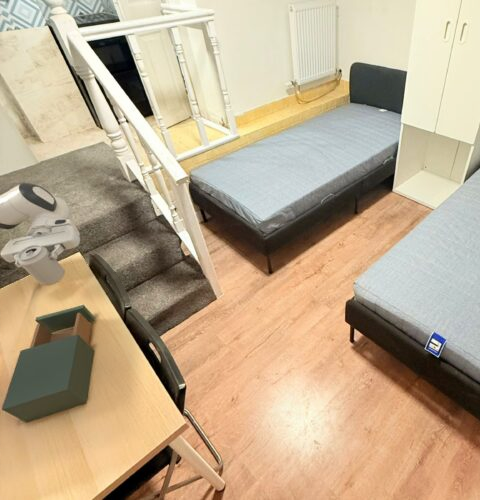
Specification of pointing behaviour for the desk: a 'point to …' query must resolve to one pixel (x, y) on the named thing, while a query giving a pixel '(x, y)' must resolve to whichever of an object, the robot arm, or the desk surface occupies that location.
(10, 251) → the robot arm
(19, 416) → the cabinet
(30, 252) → the can
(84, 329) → the drawer
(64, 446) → the desk surface
